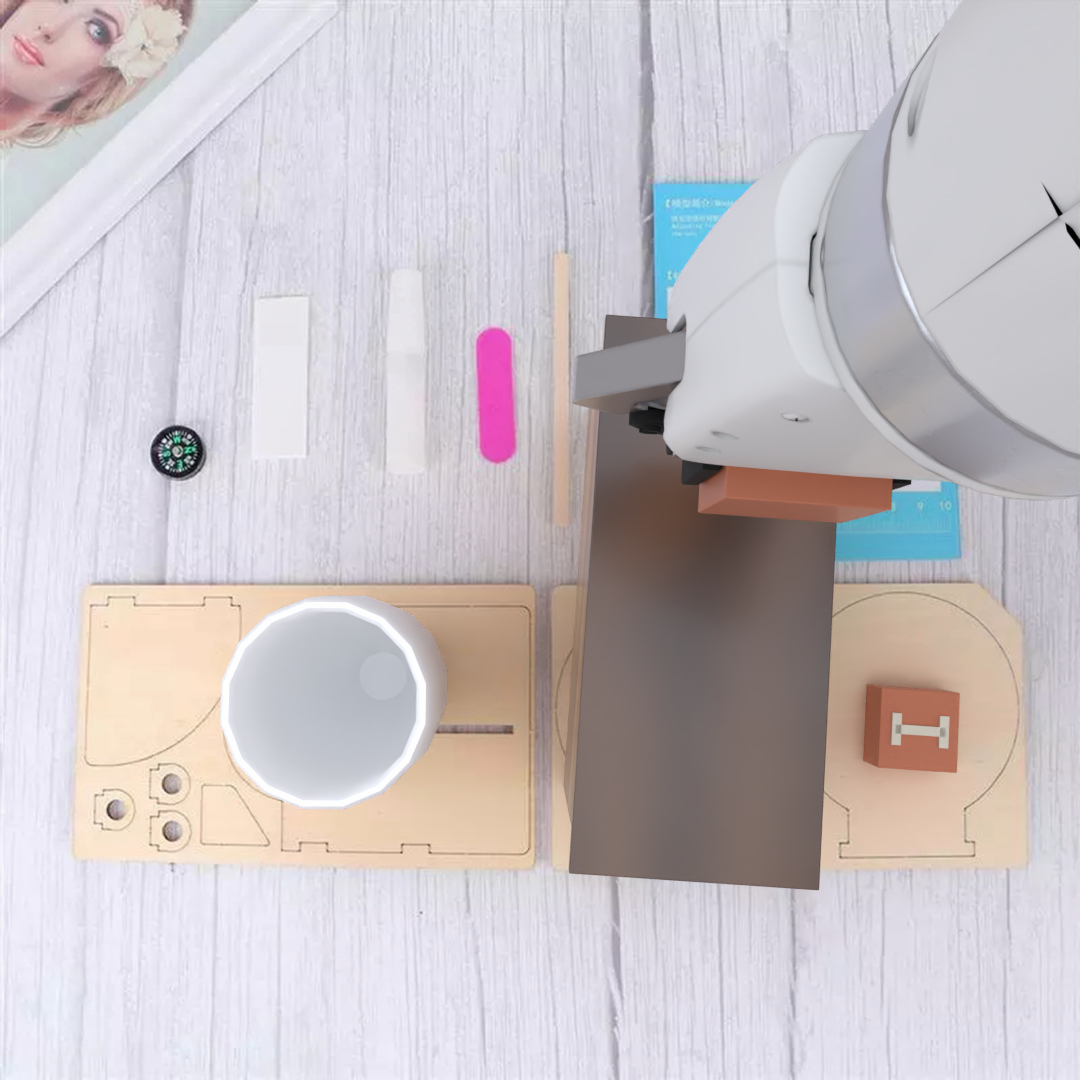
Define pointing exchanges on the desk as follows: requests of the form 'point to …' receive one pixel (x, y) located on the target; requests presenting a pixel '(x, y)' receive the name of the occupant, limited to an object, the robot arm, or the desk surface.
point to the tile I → (911, 728)
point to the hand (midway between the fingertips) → (776, 445)
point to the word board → (698, 676)
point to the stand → (580, 608)
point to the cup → (332, 700)
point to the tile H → (793, 495)
